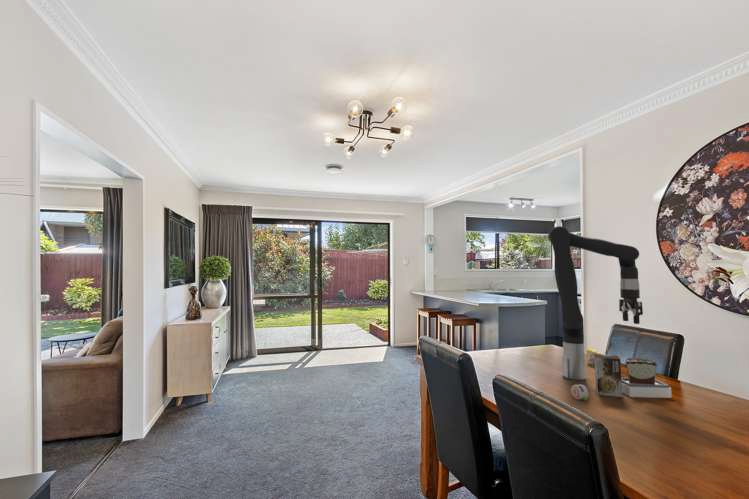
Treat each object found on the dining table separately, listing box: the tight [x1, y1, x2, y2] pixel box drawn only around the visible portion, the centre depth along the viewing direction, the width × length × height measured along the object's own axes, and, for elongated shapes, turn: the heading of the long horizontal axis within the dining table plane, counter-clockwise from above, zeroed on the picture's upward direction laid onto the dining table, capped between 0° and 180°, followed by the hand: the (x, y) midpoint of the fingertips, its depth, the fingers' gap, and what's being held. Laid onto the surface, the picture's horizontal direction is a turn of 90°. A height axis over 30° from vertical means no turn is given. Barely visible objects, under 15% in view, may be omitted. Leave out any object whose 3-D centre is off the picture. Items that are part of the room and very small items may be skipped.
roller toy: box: [570, 384, 589, 402], centre depth 152 cm, size 4×6×6 cm
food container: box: [624, 357, 659, 384], centre depth 161 cm, size 12×6×10 cm, turn 75°
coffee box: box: [594, 353, 623, 398], centre depth 158 cm, size 9×6×16 cm
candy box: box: [586, 348, 607, 367], centre depth 198 cm, size 16×2×8 cm, turn 6°
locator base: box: [621, 377, 672, 399], centre depth 158 cm, size 16×11×5 cm, turn 85°
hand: (631, 322), depth 174 cm, fingers open, 8 cm apart
